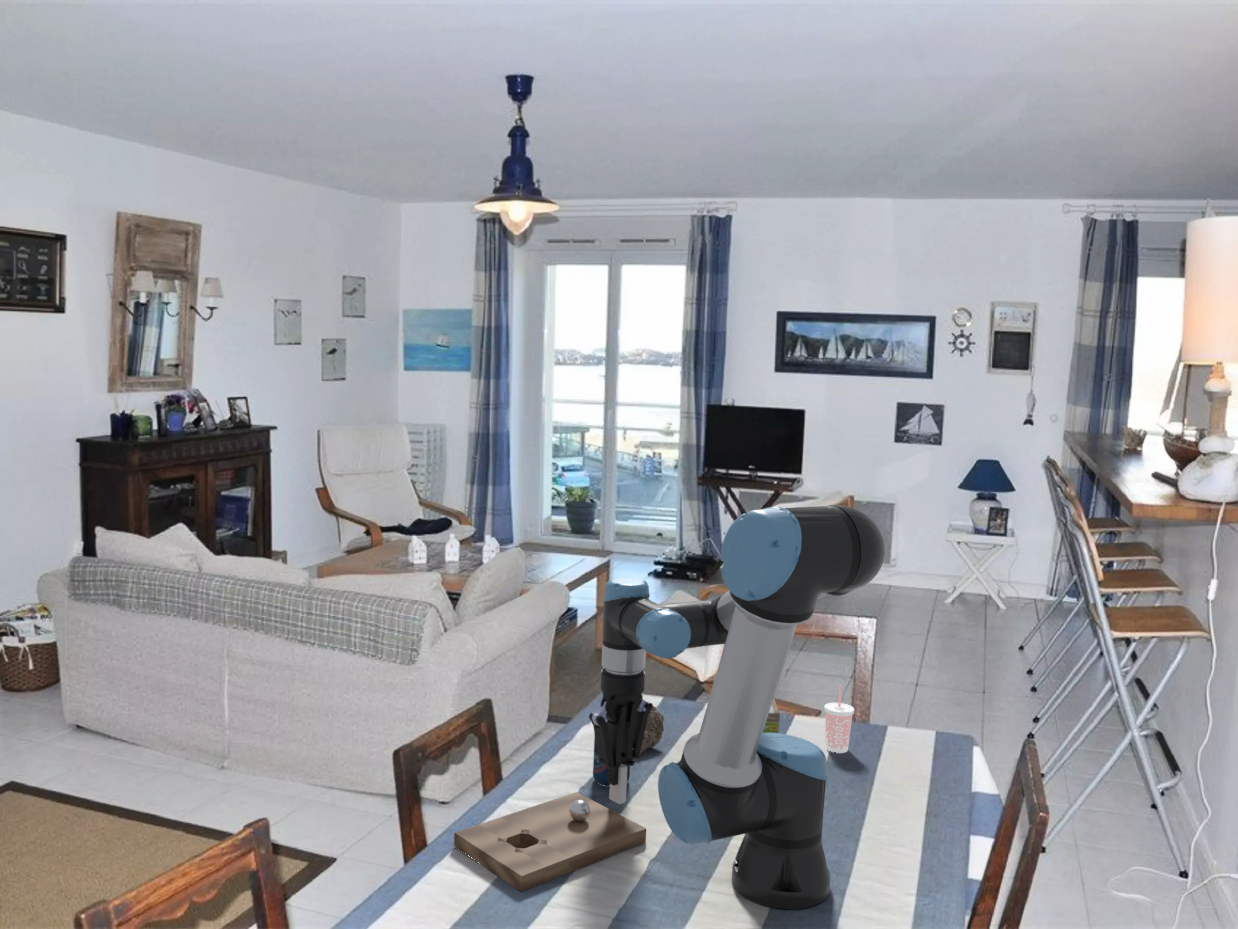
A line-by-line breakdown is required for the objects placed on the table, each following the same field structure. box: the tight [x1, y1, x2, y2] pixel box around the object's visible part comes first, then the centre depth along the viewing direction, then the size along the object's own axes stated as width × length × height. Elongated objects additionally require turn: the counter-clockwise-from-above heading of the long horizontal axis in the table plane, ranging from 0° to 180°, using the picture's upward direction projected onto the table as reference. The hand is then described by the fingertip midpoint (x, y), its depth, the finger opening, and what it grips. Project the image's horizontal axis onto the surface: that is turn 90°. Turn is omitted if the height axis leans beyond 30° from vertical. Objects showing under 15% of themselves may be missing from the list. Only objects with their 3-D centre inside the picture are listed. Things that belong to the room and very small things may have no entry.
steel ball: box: [569, 800, 590, 822], centre depth 182 cm, size 4×4×4 cm
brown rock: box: [633, 705, 665, 756], centre depth 222 cm, size 14×9×10 cm, turn 123°
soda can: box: [592, 737, 631, 787], centre depth 204 cm, size 7×7×12 cm
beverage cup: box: [823, 683, 855, 754], centre depth 225 cm, size 6×6×14 cm
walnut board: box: [453, 791, 647, 893], centre depth 178 cm, size 18×26×2 cm
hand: (617, 800), depth 188 cm, fingers closed
